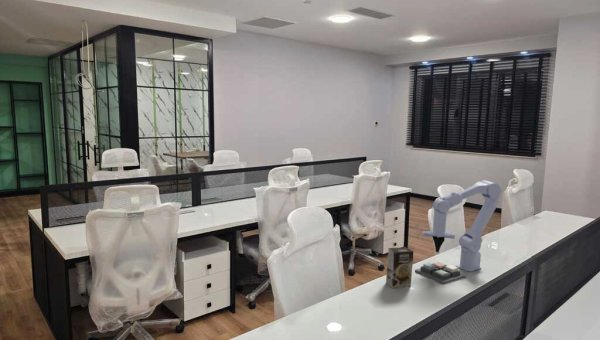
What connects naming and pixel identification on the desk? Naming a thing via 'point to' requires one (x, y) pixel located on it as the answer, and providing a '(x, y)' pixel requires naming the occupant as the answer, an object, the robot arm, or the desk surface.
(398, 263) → the coffee box
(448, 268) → the cream key
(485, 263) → the desk surface
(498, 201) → the robot arm
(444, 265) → the terracotta key
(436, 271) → the sage key
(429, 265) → the slate key
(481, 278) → the desk surface
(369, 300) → the desk surface
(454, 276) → the keypad
